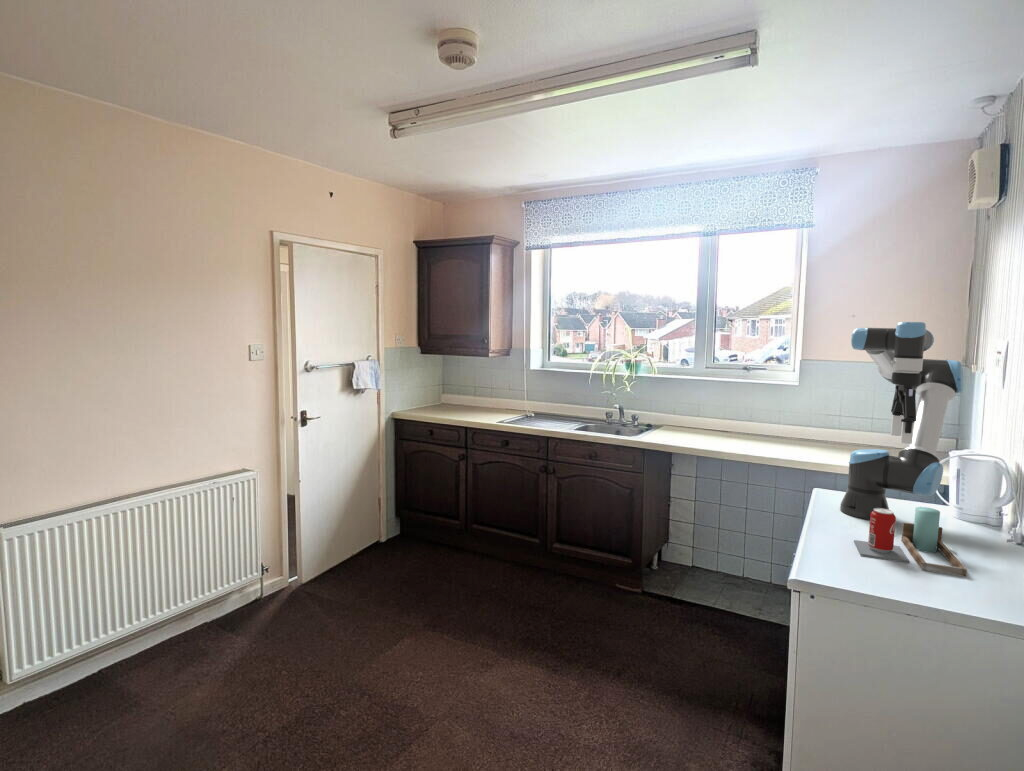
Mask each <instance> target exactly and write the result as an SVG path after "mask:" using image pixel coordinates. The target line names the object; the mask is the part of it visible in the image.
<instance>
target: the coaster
mask: <svg viewBox="0 0 1024 771" xmlns="http://www.w3.org/2000/svg"><path fill="white" fill-rule="evenodd" d="M853 543H854V545H855V547H856V549H857V551H858V554H859V555H860V556H861V557H867V558H873V559H881V560H887V561H892V562H893V561H895V562H900V563H906V564H907V563H908V564H909V563H910V559H909V558H908V556H907V555H906V554H905V552H904V551H903V549H902V548H901V547H900V545H895V544H894V545H893V550H891V551H890V552H888V553H882V552H877V551H874V550H872V549H871V547H870V546H869V545H868V541H865V540H864V541H863V540H857V539H854V540H853Z"/></svg>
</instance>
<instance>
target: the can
mask: <svg viewBox="0 0 1024 771" xmlns="http://www.w3.org/2000/svg"><path fill="white" fill-rule="evenodd" d="M940 517H941V511H940V510H938V509H937V508H931V507H925V506H917V507H915V513H914V523H913V524H914V532H913V543H912V544H913V546H914V547H915V548H916V550H917V551H920V552H926V553H936V552H938V550H937V549H938V547H937V540H938V529H939V527H940Z"/></svg>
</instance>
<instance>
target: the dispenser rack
mask: <svg viewBox="0 0 1024 771" xmlns="http://www.w3.org/2000/svg"><path fill="white" fill-rule="evenodd" d="M913 532H914V523H911V522H903V523H902V531H901V542H902V544H903V545H904V547H905V548H906V549H907V551H908V552H909V554H910V555H911V557H912V558H913V560H914V561H915V562H916V564H917V566H919V568H920V570H921V571H926V572H927V571H928V572H932V573H933V572H934V573H939V574H946V575H953V576H959V577H967V572H968V569H967V568H966V567H965V565H963V563H962V562H961V561H960V560H959V559H958V557H956V556H955V554H954V553H953V552H952V551H951V550H950V549H949V548H948V546H947V545H945V543H944V542H943V541H942V539H943V526H939V529H938V540H937V549H938V550H939V551H940V552H941V554H942V555H943V556H944V557H945V558H946V559H947V561H948V562H949V563H950V564H951V565H945V564H940V563H931V562H926V560H925V559H924V558H923V557H922V555H921V554H920V553H919V550H917V549H916V548H915V547H914V546H913Z"/></svg>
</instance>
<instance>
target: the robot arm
mask: <svg viewBox="0 0 1024 771" xmlns="http://www.w3.org/2000/svg"><path fill="white" fill-rule="evenodd" d="M851 333H852V334H851V339H850V340H851V347H852V349H854V350H857V351H865V352H866V353H867V354H868V355H869V357H870V358H871V359H872V360H873V362H874V363H875V364H876V365H877V366H878V368H877V369H878V373H879V374H880V375H881V376H882V377H883V378H884V379H885V380H886V381H888V382H890V383H891V384H893V385H895V390H894V396H893V400H892V406H891V409H890V412H891V415H892V416H891V428H890V436H895V437H900V444H906V446H905V448H903V449H901V450H900V451H899V452H898V455H896V456H895V455H894V456H893V455H890V452H889V450H887V449H880V448H864V449H863V448H862V449H857V450H853V451H852V452H851V453H850V456H849V462H848V465H849V466H848V475H847V476H848V477H847V479H848V480H847V489H846V491H845V494H844V496H843V498H842V500H841V503H840V506H839V507H840V508H839V510H840V511H841V512H842V513H843V514H846V515H848V516H851V517H854V518H855V517H856V518H860V519H866V520H870V516H871V512H873V511H874V508H884V509H888V510H890V507H889V504H888V500H887V498H886V497H887V496H886V491H887V490H892V491H897V492H902V493H907V494H911V495H912V494H913V495H916V496H926V497H929V496H933V495H934V494H935V493H937V492H938V489H939V487H940V485H941V482H942V480H943V474H944V465H943V463H941V462H940V459H939V457H938V456H937V449H938V445H939V441H940V437H941V433H942V430H943V425H944V422H945V417H946V412H947V410H948V409H947V408H948V406H949V405H948V404H949V401H952V400H954V399H955V397H956V394H961V393H963V390H964V372H963V364H962V362H960V361H958V360H951V359H933V358H932V359H931V358H929V359H928V358H924V352H925V351H927V350H930V348H932V346H933V345H934V343H935V338H934V335H933V333H932V332H931V331H929V330H928V329H927V326H926V323H925V322H922V321H900V322H897V324H896V327H895V328H894V327H892V328H891V327H888V328H887V327H868V326H867V327H857V328H855V329H854V330H853V331H852V332H851ZM916 393H917V395H918V396H919V397H918V400H917V403H916ZM886 489H887V490H886Z"/></svg>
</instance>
